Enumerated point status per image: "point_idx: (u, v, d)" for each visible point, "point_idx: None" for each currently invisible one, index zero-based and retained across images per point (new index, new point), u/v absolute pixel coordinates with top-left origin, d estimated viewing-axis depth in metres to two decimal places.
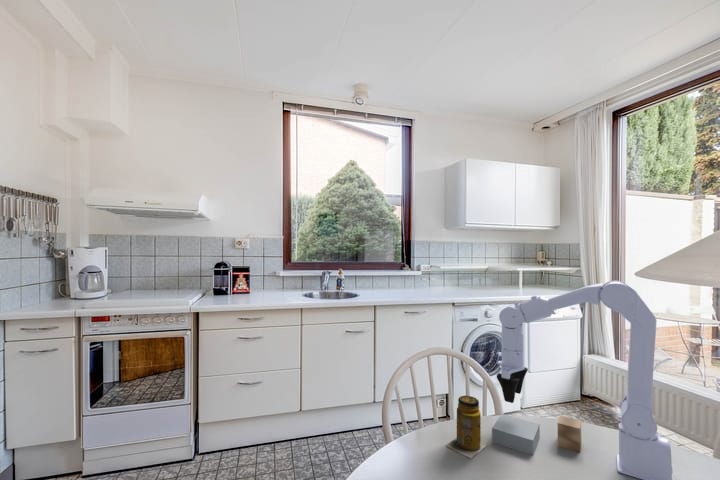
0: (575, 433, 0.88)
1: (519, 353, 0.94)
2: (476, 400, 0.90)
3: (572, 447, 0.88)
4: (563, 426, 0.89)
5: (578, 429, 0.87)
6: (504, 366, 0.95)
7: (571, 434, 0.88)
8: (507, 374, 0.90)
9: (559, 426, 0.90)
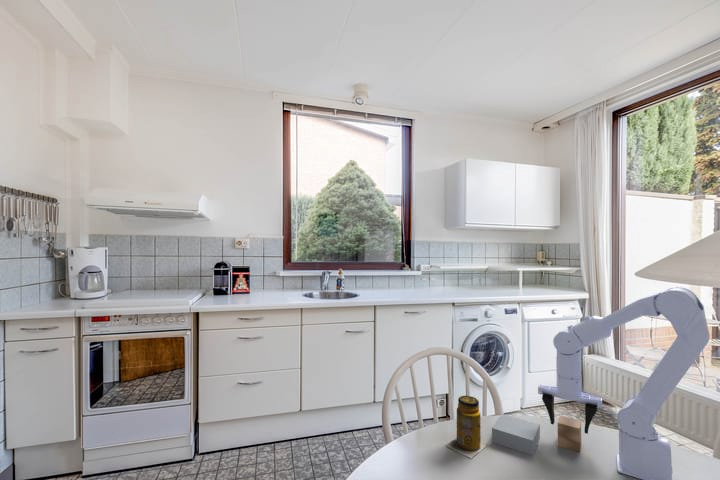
0: (575, 433, 0.88)
1: (560, 379, 0.90)
2: (476, 400, 0.90)
3: (572, 447, 0.88)
4: (563, 426, 0.89)
5: (578, 429, 0.87)
6: None
7: (571, 434, 0.88)
8: (538, 389, 0.95)
9: (559, 426, 0.90)
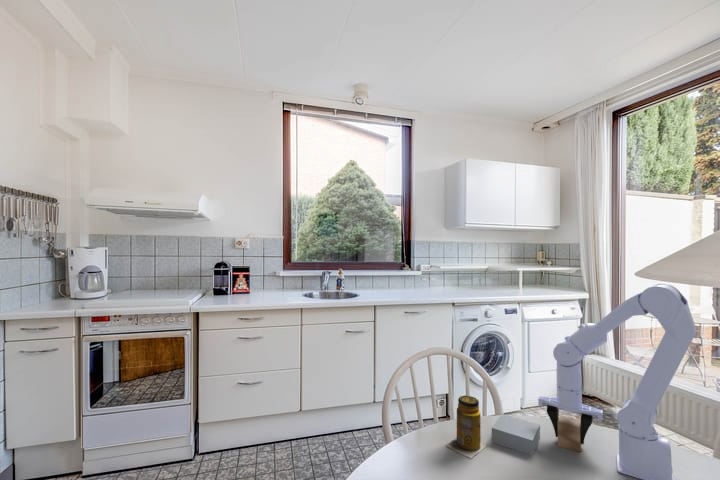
0: (575, 432, 0.88)
1: (560, 390, 0.90)
2: (476, 400, 0.90)
3: (572, 447, 0.88)
4: (563, 425, 0.89)
5: (578, 429, 0.87)
6: None
7: (571, 434, 0.88)
8: None
9: (559, 426, 0.90)
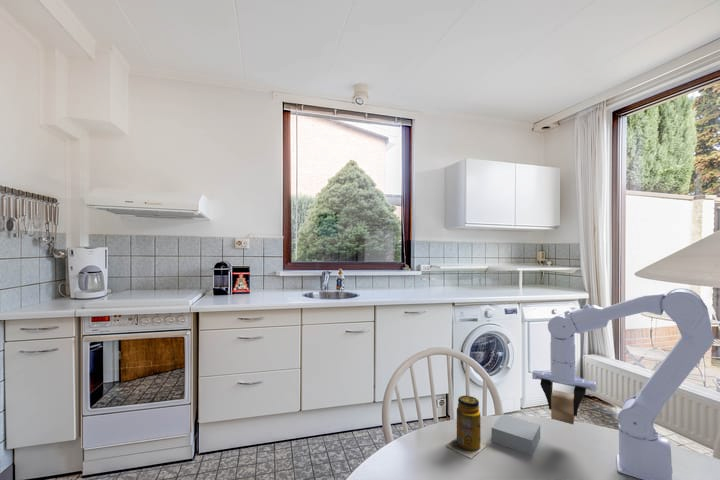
0: (568, 405, 0.88)
1: (554, 363, 0.90)
2: (476, 400, 0.90)
3: (565, 420, 0.88)
4: (556, 399, 0.90)
5: (571, 401, 0.88)
6: None
7: (564, 407, 0.89)
8: None
9: (553, 399, 0.90)
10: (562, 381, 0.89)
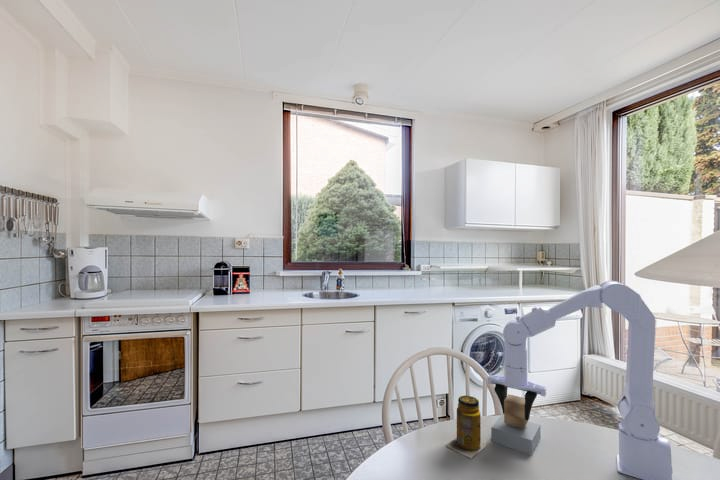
0: (520, 409, 0.90)
1: (507, 368, 0.92)
2: (476, 400, 0.90)
3: (517, 424, 0.90)
4: (508, 403, 0.92)
5: (522, 406, 0.90)
6: None
7: (516, 411, 0.90)
8: (488, 379, 0.97)
9: (505, 403, 0.92)
10: (514, 386, 0.90)
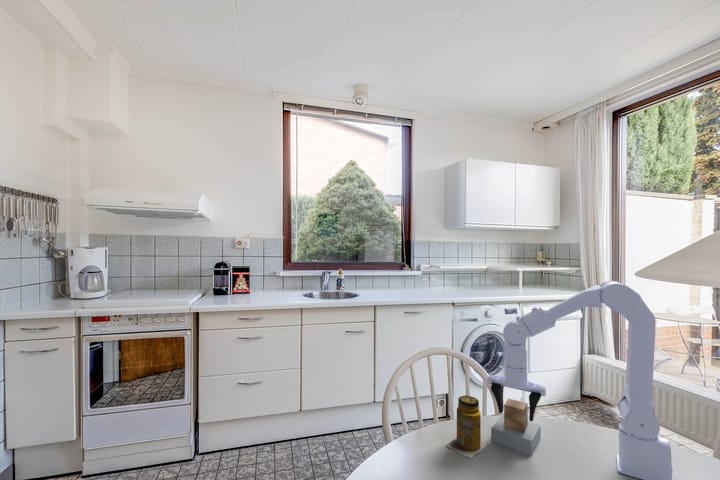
0: (520, 414, 0.90)
1: (507, 368, 0.92)
2: (476, 400, 0.90)
3: (517, 428, 0.90)
4: (508, 408, 0.92)
5: (522, 410, 0.90)
6: None
7: (516, 416, 0.90)
8: (488, 378, 0.97)
9: (505, 408, 0.92)
10: (514, 386, 0.90)
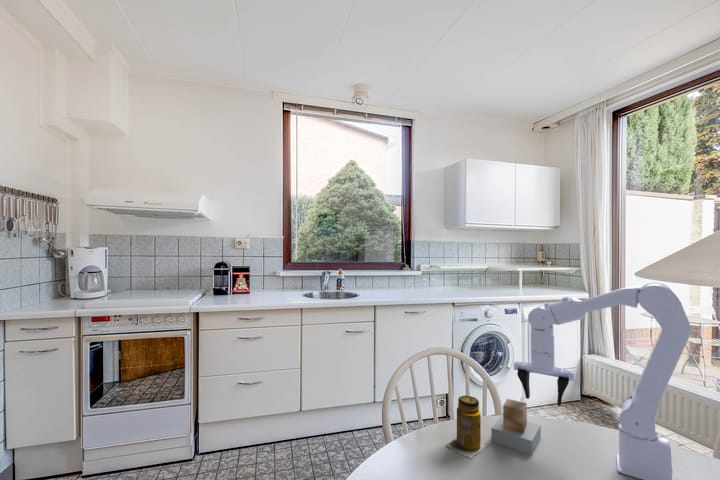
0: (519, 414, 0.90)
1: (534, 353, 0.93)
2: (476, 400, 0.90)
3: (516, 429, 0.90)
4: (508, 408, 0.91)
5: (521, 411, 0.89)
6: None
7: (515, 416, 0.90)
8: (514, 365, 0.97)
9: (504, 408, 0.92)
10: (541, 371, 0.91)
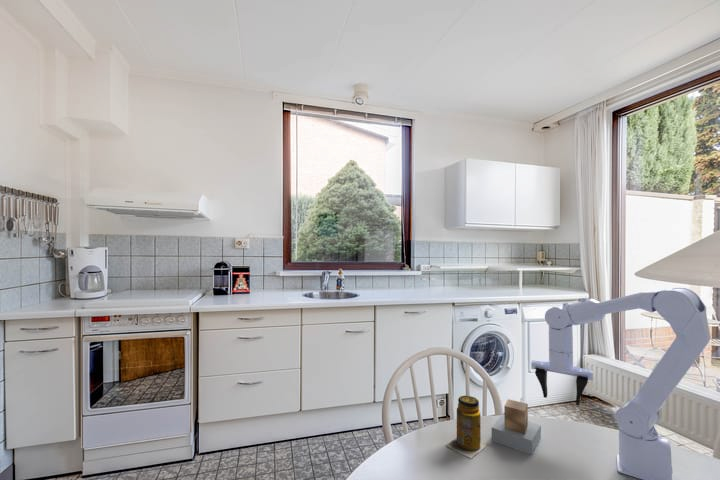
0: (520, 415, 0.89)
1: (552, 353, 0.93)
2: (476, 400, 0.90)
3: (517, 429, 0.90)
4: (509, 409, 0.91)
5: (523, 411, 0.89)
6: None
7: (517, 417, 0.90)
8: None
9: (506, 409, 0.91)
10: (560, 370, 0.91)
